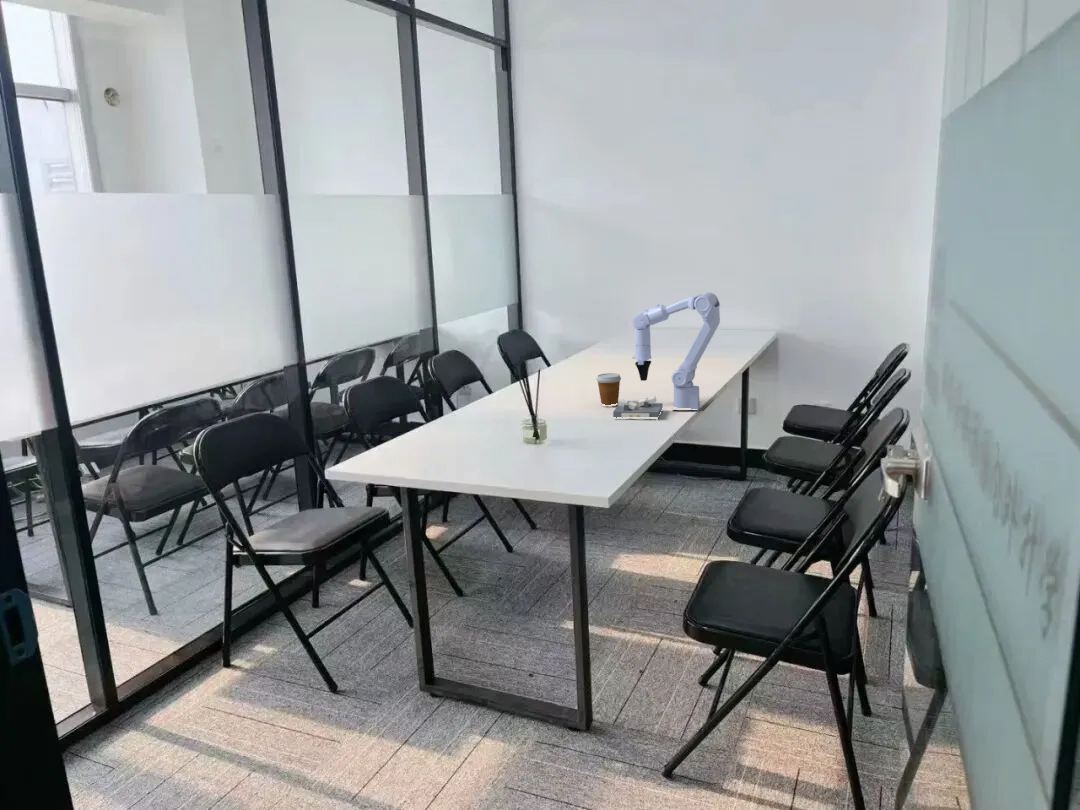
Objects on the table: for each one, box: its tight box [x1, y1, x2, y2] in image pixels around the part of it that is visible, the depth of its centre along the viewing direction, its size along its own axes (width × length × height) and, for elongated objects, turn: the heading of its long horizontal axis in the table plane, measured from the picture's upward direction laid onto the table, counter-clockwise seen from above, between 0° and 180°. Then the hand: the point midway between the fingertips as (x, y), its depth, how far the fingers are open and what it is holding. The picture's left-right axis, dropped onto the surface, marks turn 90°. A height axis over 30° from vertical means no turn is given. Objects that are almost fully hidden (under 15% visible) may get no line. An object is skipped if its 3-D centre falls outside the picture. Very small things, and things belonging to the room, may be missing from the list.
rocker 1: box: [618, 398, 637, 410], centre depth 286 cm, size 6×4×2 cm, turn 74°
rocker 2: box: [637, 395, 657, 406], centre depth 289 cm, size 6×4×2 cm, turn 74°
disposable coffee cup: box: [596, 372, 622, 405], centre depth 305 cm, size 10×10×12 cm
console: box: [612, 402, 664, 418], centre depth 288 cm, size 16×14×5 cm
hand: (643, 380), depth 299 cm, fingers closed
